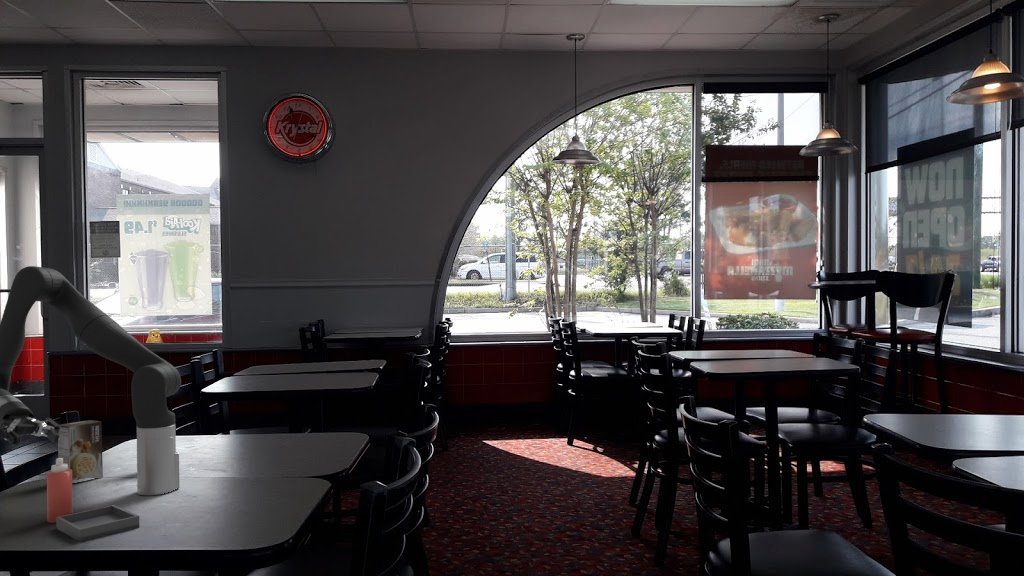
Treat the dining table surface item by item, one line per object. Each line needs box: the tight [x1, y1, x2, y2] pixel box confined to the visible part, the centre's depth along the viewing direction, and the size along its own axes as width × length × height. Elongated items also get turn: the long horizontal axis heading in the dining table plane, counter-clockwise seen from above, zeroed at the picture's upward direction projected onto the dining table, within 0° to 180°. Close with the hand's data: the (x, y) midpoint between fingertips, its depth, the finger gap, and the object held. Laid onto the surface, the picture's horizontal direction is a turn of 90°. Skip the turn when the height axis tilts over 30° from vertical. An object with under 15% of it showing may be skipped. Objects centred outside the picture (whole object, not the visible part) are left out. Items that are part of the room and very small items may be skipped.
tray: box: [55, 504, 140, 543], centre depth 164 cm, size 12×14×2 cm
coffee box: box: [57, 419, 104, 481], centre depth 208 cm, size 9×6×16 cm
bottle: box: [46, 457, 74, 524], centre depth 171 cm, size 5×5×14 cm
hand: (37, 440), depth 180 cm, fingers open, 8 cm apart
